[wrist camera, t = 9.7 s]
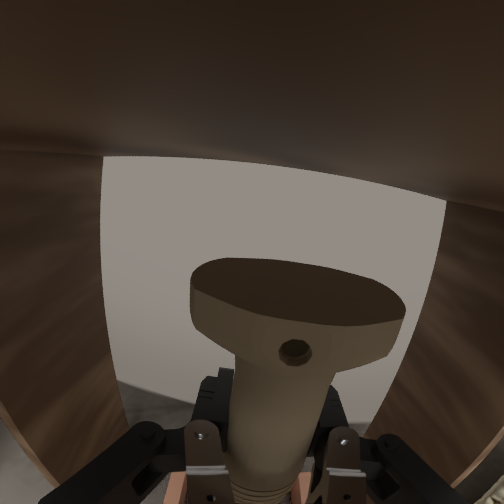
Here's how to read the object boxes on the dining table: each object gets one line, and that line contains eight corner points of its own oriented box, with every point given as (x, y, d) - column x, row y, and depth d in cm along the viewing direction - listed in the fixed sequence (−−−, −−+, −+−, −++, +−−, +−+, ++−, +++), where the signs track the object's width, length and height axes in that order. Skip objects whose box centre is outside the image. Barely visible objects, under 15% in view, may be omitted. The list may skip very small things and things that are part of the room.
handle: (208, 464, 14) (218, 250, 11) (301, 479, 14) (380, 274, 10) (187, 517, 10) (162, 296, 6) (296, 535, 9) (430, 334, 5)
